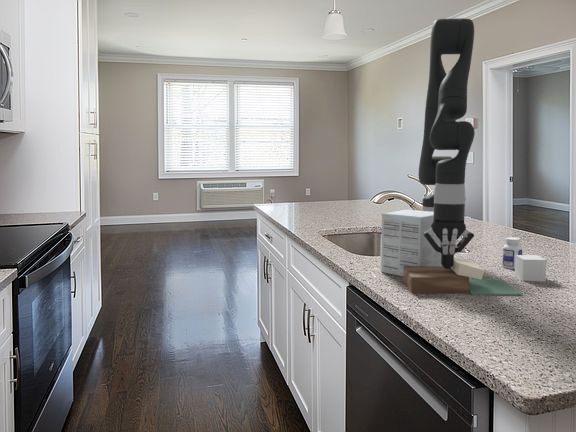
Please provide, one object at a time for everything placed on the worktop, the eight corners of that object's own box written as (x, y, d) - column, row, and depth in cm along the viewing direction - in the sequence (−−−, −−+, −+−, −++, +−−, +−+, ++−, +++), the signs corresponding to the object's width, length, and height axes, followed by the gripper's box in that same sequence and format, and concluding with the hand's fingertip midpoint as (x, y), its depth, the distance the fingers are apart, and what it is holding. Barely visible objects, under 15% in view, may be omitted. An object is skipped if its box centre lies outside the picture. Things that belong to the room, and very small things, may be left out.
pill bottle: (516, 265, 152) (517, 236, 151) (524, 269, 147) (526, 239, 146) (499, 265, 152) (500, 237, 151) (507, 269, 147) (508, 240, 146)
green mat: (456, 280, 135) (456, 278, 135) (501, 280, 134) (501, 279, 134) (471, 294, 121) (472, 293, 121) (522, 295, 120) (522, 293, 120)
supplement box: (404, 264, 154) (405, 209, 152) (443, 271, 145) (445, 212, 142) (379, 272, 145) (380, 212, 143) (419, 280, 135) (421, 217, 133)
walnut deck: (403, 280, 135) (403, 266, 135) (455, 281, 134) (456, 266, 134) (411, 293, 123) (411, 277, 123) (468, 293, 122) (469, 277, 122)
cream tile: (449, 266, 132) (451, 257, 132) (472, 271, 131) (474, 262, 131) (457, 274, 123) (459, 265, 123) (481, 279, 123) (484, 269, 122)
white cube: (514, 275, 140) (515, 254, 139) (536, 276, 139) (537, 255, 139) (522, 281, 134) (523, 259, 133) (545, 281, 133) (546, 259, 133)
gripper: (471, 200, 129) (469, 265, 131) (420, 199, 130) (418, 264, 132) (480, 203, 121) (477, 272, 124) (425, 202, 122) (423, 271, 125)
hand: (446, 268), depth 128 cm, fingers closed
